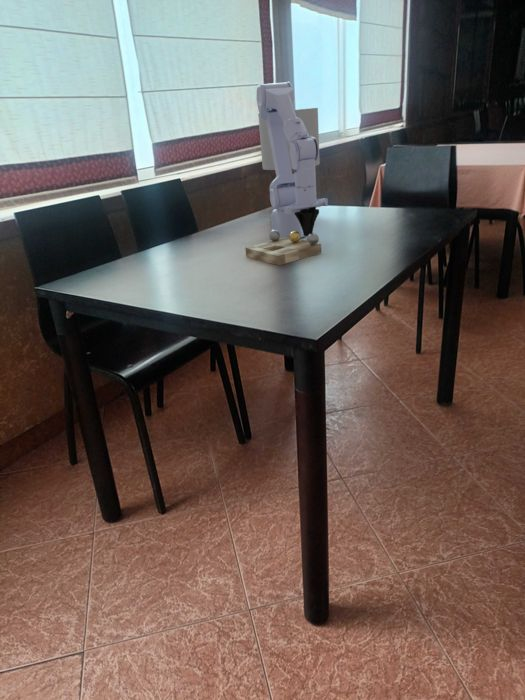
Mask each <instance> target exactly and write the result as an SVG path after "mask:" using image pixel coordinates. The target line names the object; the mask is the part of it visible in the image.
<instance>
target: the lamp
mask: <svg viewBox="0 0 525 700" xmlns="http://www.w3.org/2000/svg"><path fill="white" fill-rule="evenodd" d="M294 111H295V114H296V117H297V118H300V119H301V120H302V121H303V123H304V125H305V127H306V130H307V132H308V134H309V135H310V136H312V137H315V138H316V140H317V143H318V149H319V150H320V139H319V138H320V137H319V136H320V133H319V131H320V130H319V108H318V107H312V108H311V107H310V108H303V109H302V108H301V109H294ZM257 114H258V125H259V126H258V128H259V136H260V138H259V139H260V152H261V162H262V164H261V165H262V170H265V171H266V170H267V171H275V166H274V161H273V155H272V150H271V144H270V139H269V134H268V129H267V125H266V121H265V120H264V119H262V118H260V114H259V112H258V113H257ZM284 125H285V123H284V122H283V126H284ZM285 137H286V135H285ZM286 143H287V148H288V154H289V159H290V165H291V170H292V174H294V169H293V167H292V160H291V157H290V145H289V142H288V140H287V138H286ZM320 161H321V160H320V152H319V153H318V158H317V160H315V167H317V166H319V165H320V164H321V162H320ZM294 175H295V174H294Z"/></svg>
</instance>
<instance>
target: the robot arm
mask: <svg viewBox="0 0 525 700" xmlns="http://www.w3.org/2000/svg"><path fill="white" fill-rule="evenodd" d="M294 98H295V90H294V87H293V84H292V82H290V81H286V82H285V81H284V82H273V83H259V84H258V86H257V88H256V104H257V108H258V113H259V114H260V118H262V119H264V120H265V121H266V125H267V129H268V134H269V139H270V144H271V150H272V155H273V161H274V166H275V170H274V172H275V175H276V176H275V178H274V179H273V180H272V181H271V183H269V200H270V204H271V207H272V208H273V210H272V211H271V215H270V223H271V224H270V225H271V231H272V230H278V231H279V232H280V238H284V237H289V234H290V233H291V232H292V231H297V232H299V233H300V239H301V238H304V237H308V235H309V234H311V233H314V226H315V222H316V220H317V218H318V216H319V214H320V209H319V208H320V207H327V206H329V202H328V201H329V199H328V198H323V197H322V198H317V179H316V178H317V173H316V166H315V160H317V158H318V153H319V154H320V148H319V149H318V143H317V140H316V138H315V137H312V136H310V135H309V134H308V132H307V130H306V127H305V125H304V123H303V121H302V120H301V119H300V118H297V117H296V114H295V111H294V110H295V108H294V105H293V103H294ZM283 122H284V123H285V125H284V126H283ZM285 135H286V137H285ZM286 138H287V140H288V142H289V145H290V157H291V160H292V167H293V169H294V174H295V175H294V174H292V170H291V165H290V159H289V154H288V148H287V143H286ZM280 238H279V239H280Z"/></svg>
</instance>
